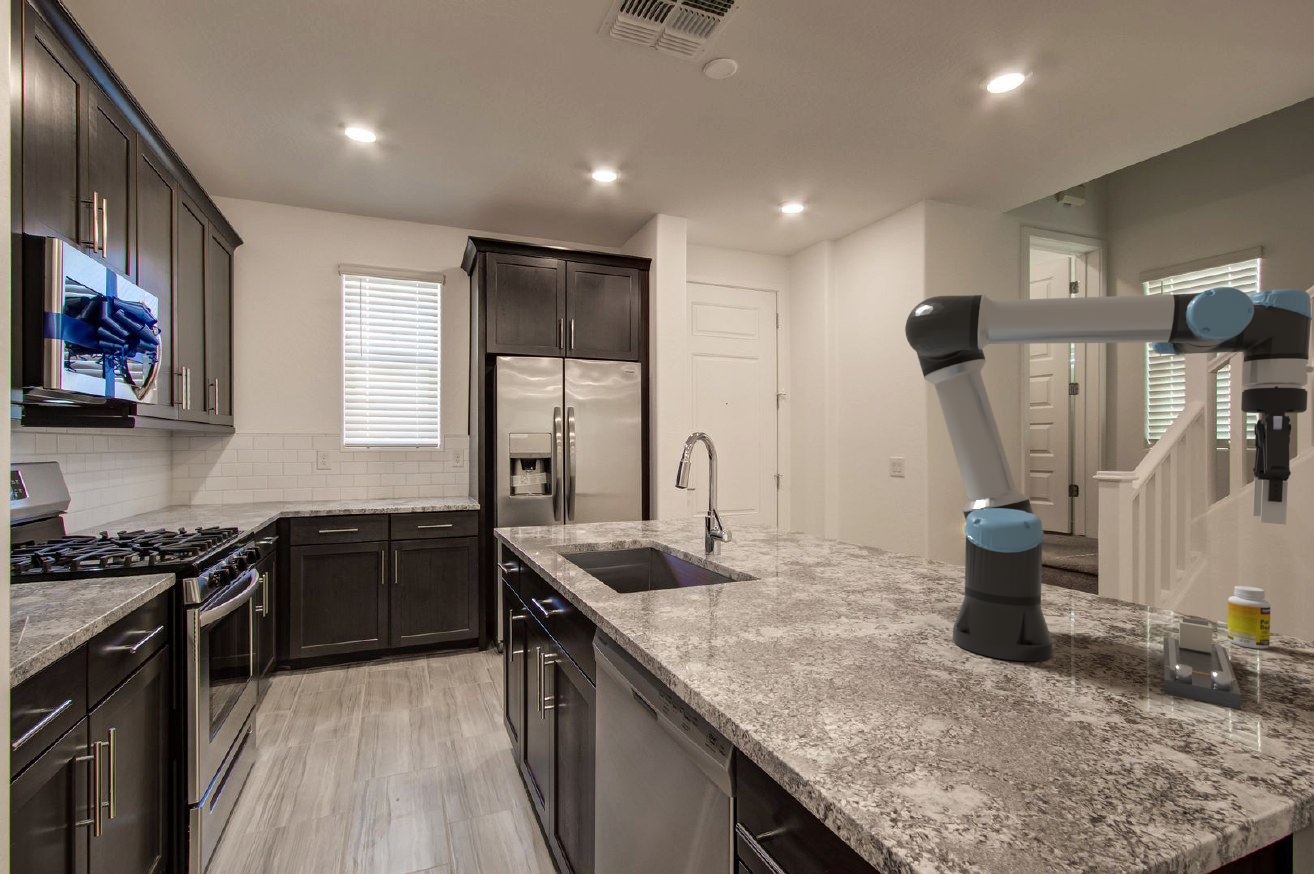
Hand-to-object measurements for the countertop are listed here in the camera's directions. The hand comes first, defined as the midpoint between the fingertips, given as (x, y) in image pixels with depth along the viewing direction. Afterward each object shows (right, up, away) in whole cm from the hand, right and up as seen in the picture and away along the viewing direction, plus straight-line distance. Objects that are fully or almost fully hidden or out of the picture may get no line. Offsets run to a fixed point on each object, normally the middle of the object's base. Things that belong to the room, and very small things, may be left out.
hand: (1268, 520), depth 100 cm
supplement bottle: (+8, -24, +12) cm, 28 cm away
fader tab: (-10, -21, +2) cm, 24 cm away
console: (-15, -24, -4) cm, 28 cm away
